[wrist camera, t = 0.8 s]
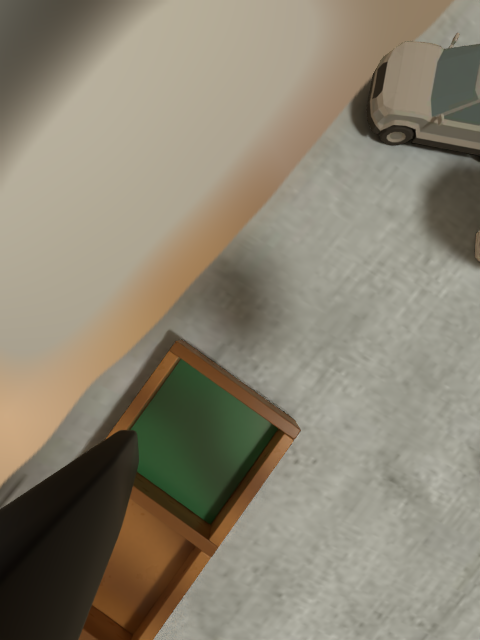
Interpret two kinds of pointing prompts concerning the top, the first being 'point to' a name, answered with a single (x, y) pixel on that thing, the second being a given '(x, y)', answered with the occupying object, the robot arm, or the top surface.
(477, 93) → the toy car
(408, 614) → the top surface
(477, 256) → the cup
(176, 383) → the wooden divided tray
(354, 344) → the top surface
